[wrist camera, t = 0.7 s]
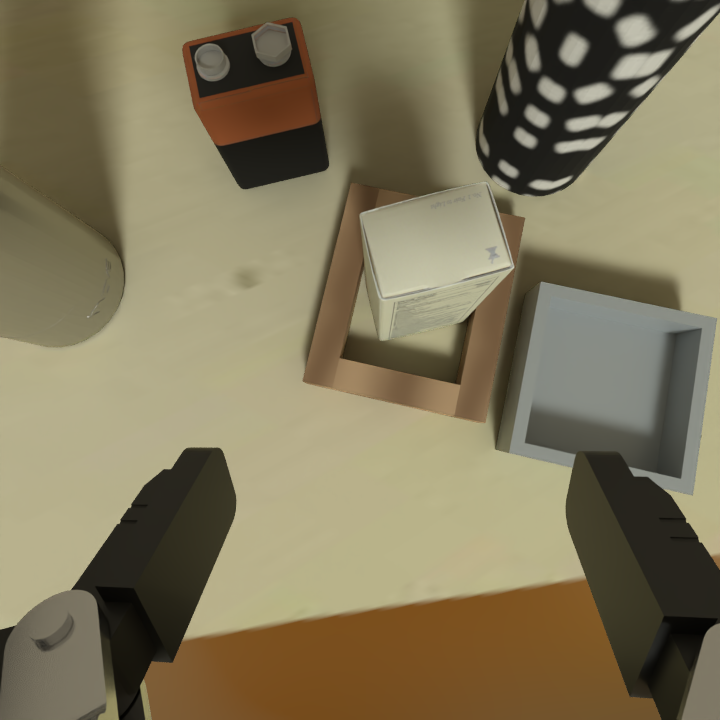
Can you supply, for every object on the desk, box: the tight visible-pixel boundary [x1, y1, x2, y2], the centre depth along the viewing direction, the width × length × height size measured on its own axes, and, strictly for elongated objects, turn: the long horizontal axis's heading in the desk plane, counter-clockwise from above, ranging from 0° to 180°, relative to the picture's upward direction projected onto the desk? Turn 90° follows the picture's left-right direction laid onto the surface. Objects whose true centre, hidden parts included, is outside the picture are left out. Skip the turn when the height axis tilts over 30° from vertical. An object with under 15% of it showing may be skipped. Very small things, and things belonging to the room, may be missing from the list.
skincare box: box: [359, 182, 514, 341], centre depth 26 cm, size 6×4×12 cm
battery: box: [182, 18, 329, 189], centre depth 29 cm, size 4×7×10 cm, turn 104°
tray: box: [496, 282, 717, 495], centre depth 29 cm, size 11×11×3 cm
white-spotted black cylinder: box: [476, 0, 720, 196], centre depth 23 cm, size 8×8×20 cm
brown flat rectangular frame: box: [303, 183, 525, 423], centre depth 31 cm, size 12×14×2 cm
